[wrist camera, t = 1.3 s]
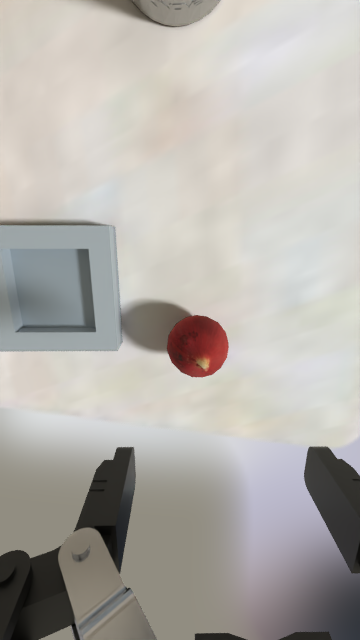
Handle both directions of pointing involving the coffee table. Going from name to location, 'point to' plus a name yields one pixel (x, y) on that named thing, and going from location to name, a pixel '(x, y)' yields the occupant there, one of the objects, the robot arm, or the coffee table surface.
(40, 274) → the base plate
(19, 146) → the coffee table surface
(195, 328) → the onion
